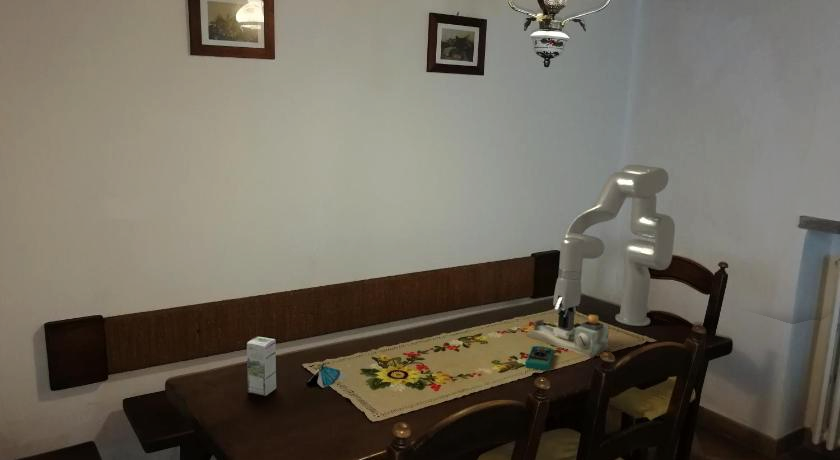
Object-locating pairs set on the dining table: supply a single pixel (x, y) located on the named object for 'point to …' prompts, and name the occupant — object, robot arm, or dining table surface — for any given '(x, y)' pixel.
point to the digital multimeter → (539, 358)
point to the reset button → (593, 319)
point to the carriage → (570, 329)
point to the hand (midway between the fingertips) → (565, 325)
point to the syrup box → (261, 365)
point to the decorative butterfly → (329, 376)
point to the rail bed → (557, 341)
